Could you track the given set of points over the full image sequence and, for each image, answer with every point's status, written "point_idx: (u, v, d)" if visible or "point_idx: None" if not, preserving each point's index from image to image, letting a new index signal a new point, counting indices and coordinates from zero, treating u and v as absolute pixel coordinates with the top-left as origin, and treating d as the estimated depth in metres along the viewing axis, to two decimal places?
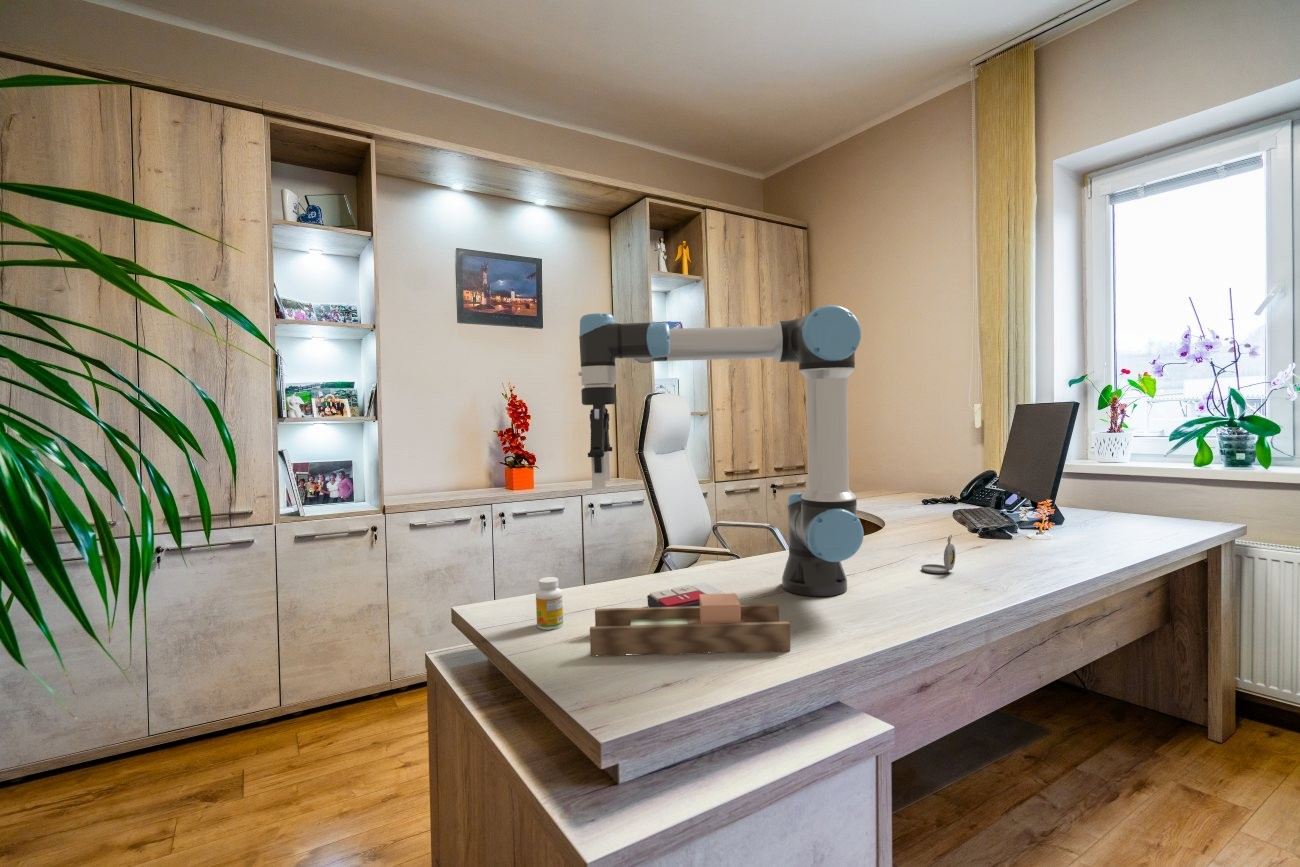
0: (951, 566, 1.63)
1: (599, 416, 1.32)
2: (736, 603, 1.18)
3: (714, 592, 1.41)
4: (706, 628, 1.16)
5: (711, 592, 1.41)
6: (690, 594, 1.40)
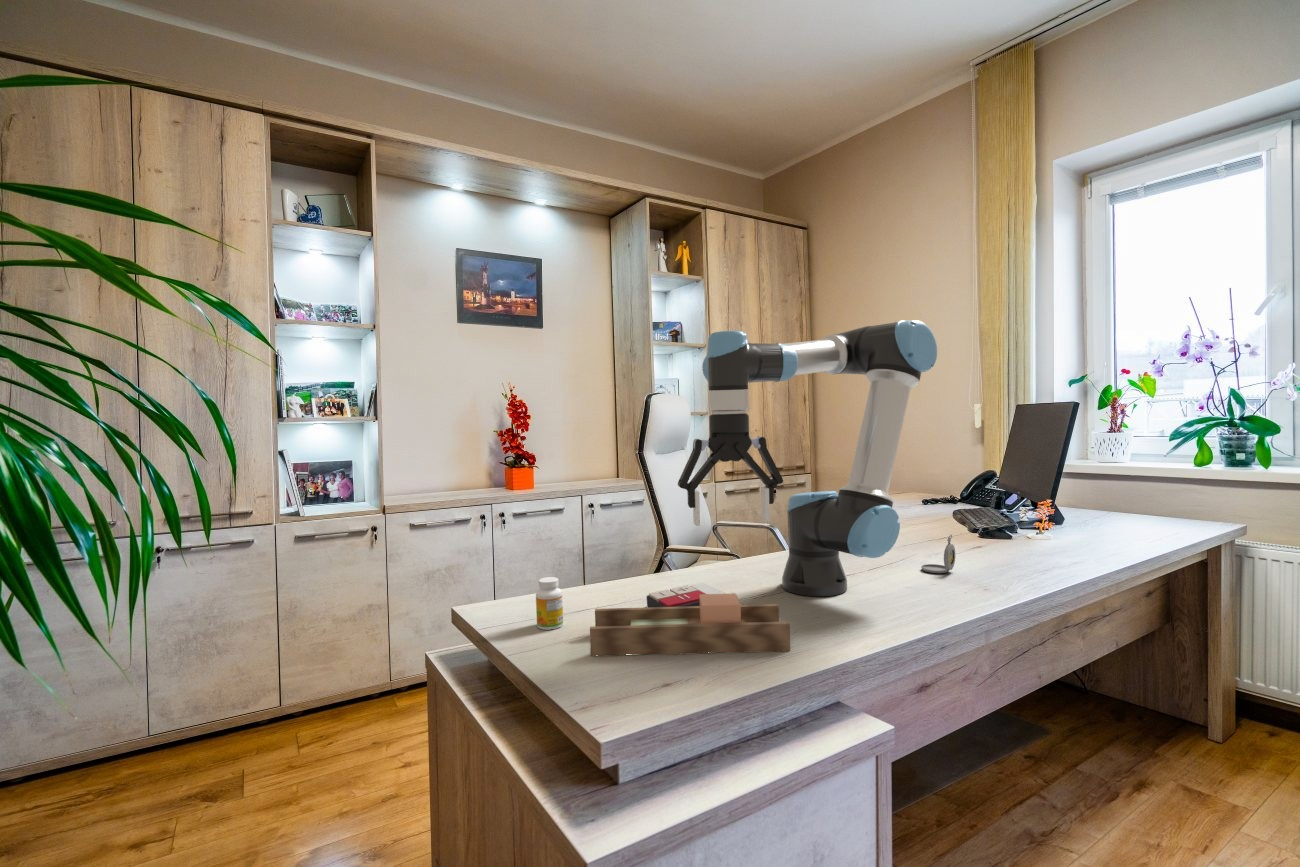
0: (951, 566, 1.63)
1: (694, 447, 1.22)
2: (736, 603, 1.18)
3: (714, 592, 1.41)
4: (706, 628, 1.16)
5: (711, 592, 1.41)
6: (690, 594, 1.40)
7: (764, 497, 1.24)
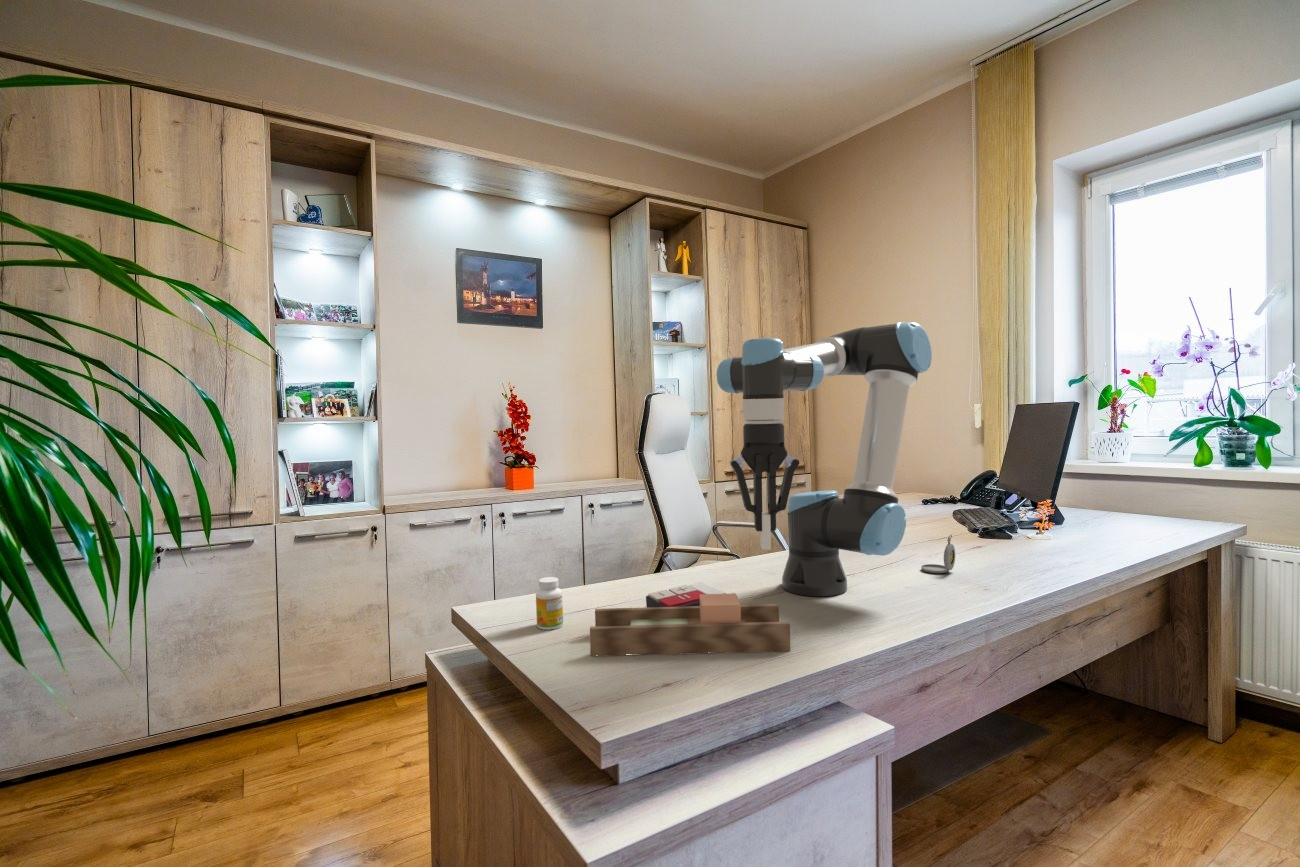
0: (951, 566, 1.63)
1: (734, 469, 1.19)
2: (736, 603, 1.18)
3: (713, 591, 1.41)
4: (706, 628, 1.16)
5: (710, 591, 1.41)
6: (690, 594, 1.40)
7: None
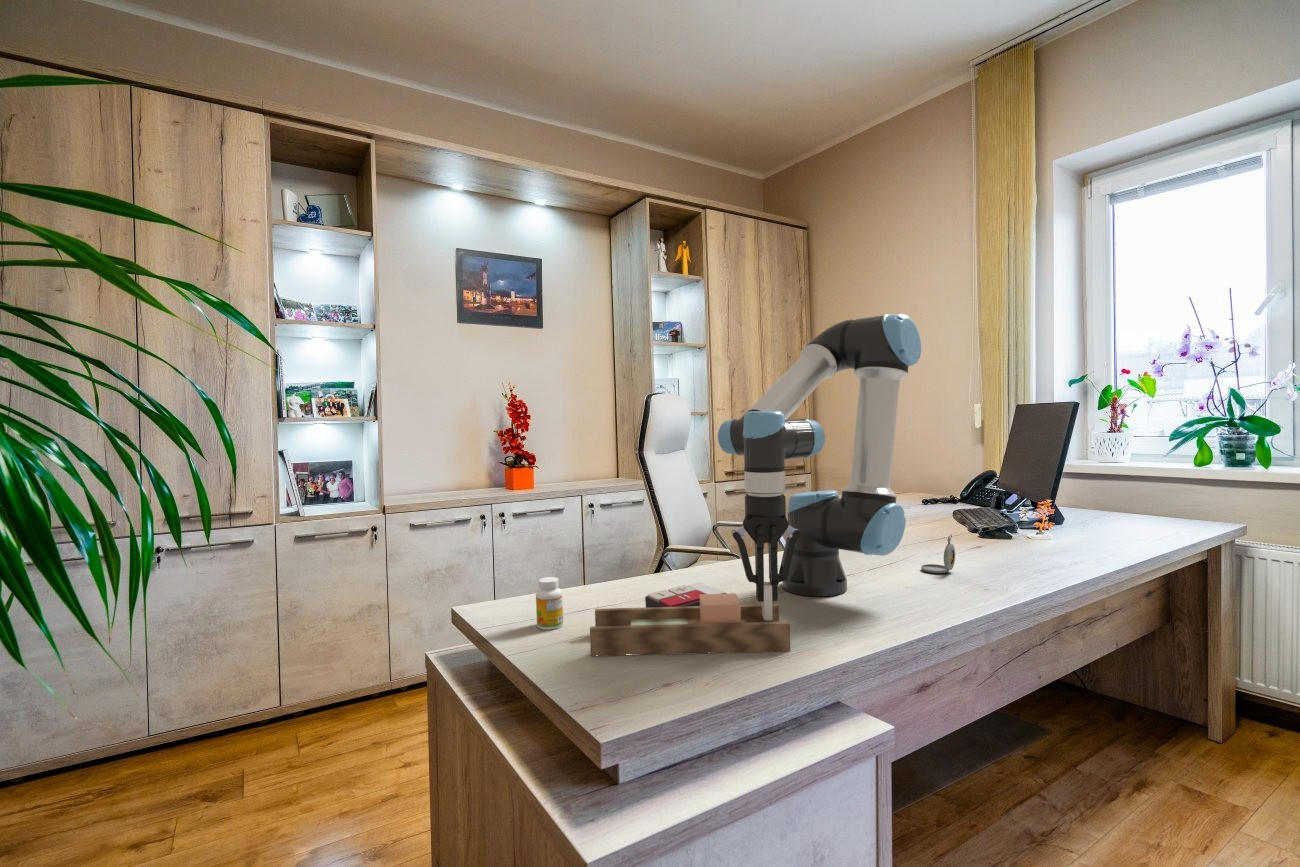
0: (951, 566, 1.63)
1: (736, 540, 1.20)
2: (736, 603, 1.18)
3: (712, 591, 1.42)
4: (706, 628, 1.16)
5: (709, 591, 1.42)
6: (690, 594, 1.40)
7: None
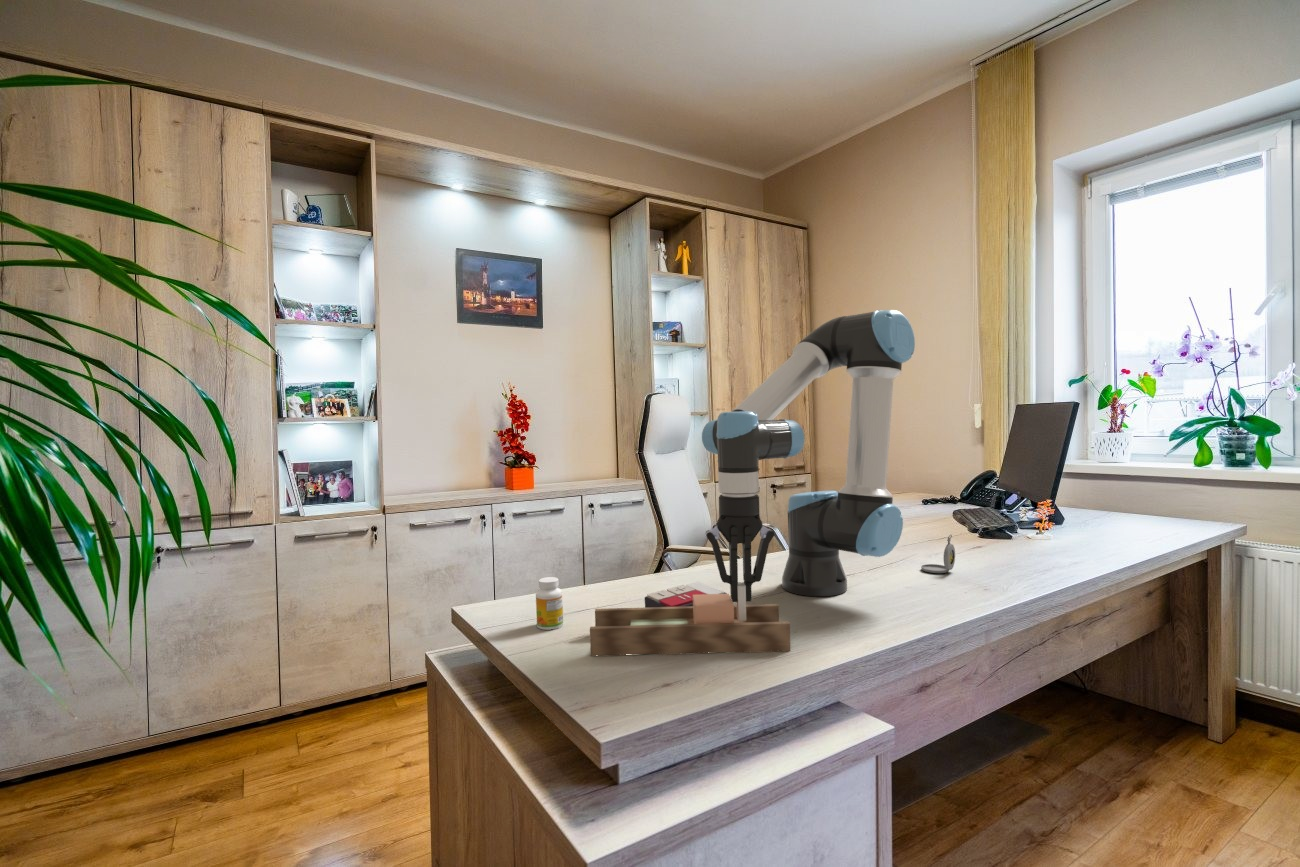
0: (951, 566, 1.63)
1: (710, 541, 1.20)
2: (730, 603, 1.18)
3: (712, 590, 1.42)
4: (706, 628, 1.16)
5: (709, 591, 1.42)
6: (689, 594, 1.40)
7: None
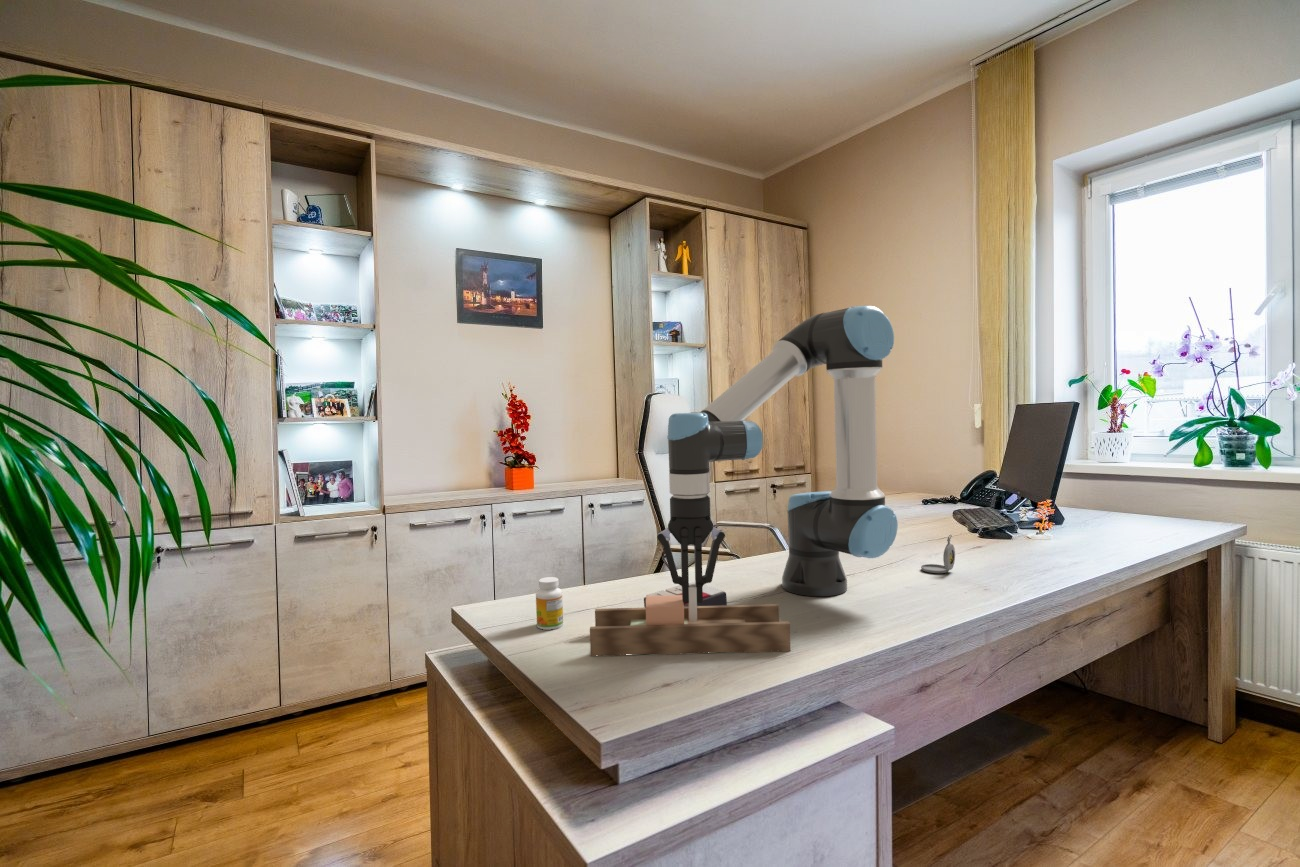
0: (951, 566, 1.63)
1: (661, 542, 1.20)
2: (680, 604, 1.18)
3: (711, 590, 1.42)
4: (706, 628, 1.16)
5: (708, 590, 1.42)
6: None
7: None
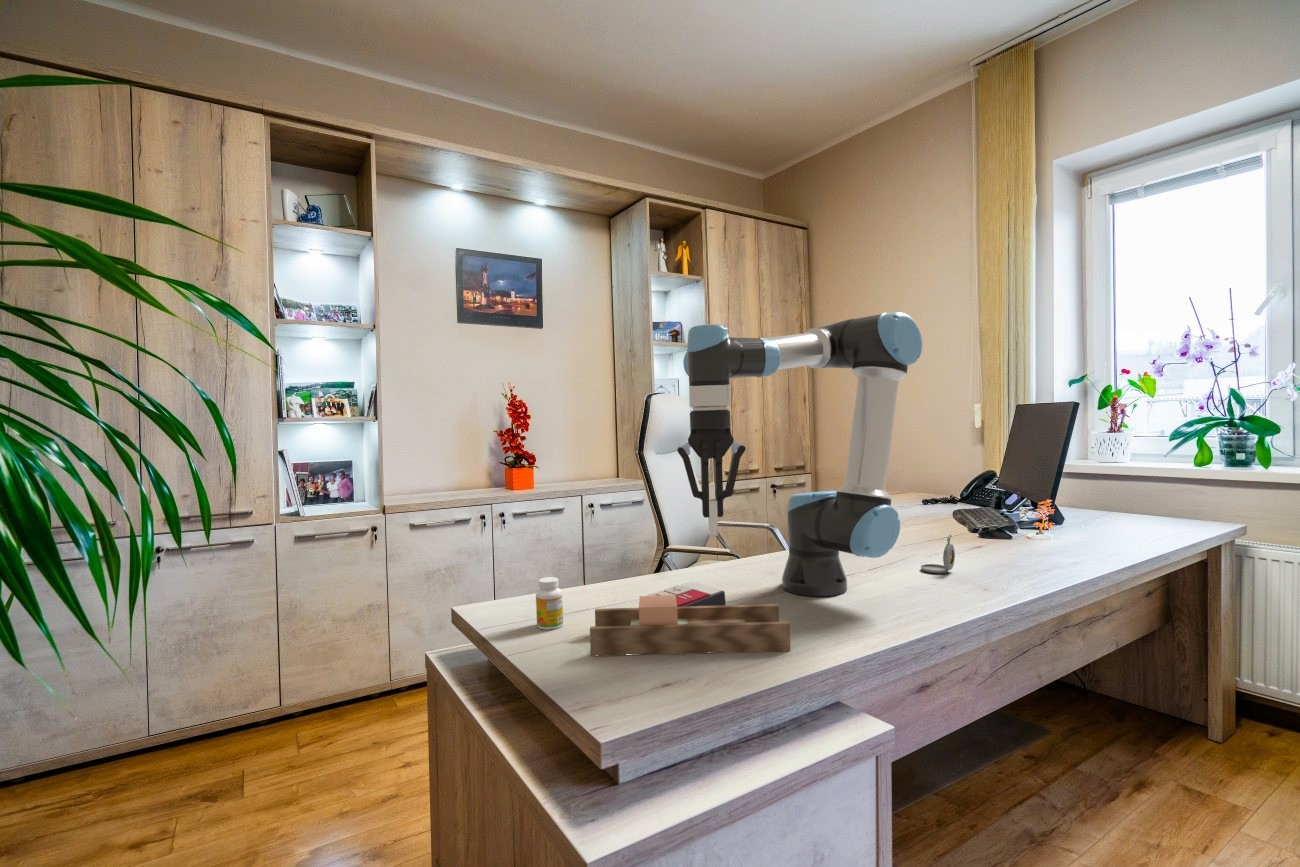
0: (950, 566, 1.63)
1: (681, 456, 1.20)
2: (673, 605, 1.18)
3: (709, 589, 1.43)
4: (706, 628, 1.16)
5: (706, 590, 1.43)
6: (689, 593, 1.40)
7: None
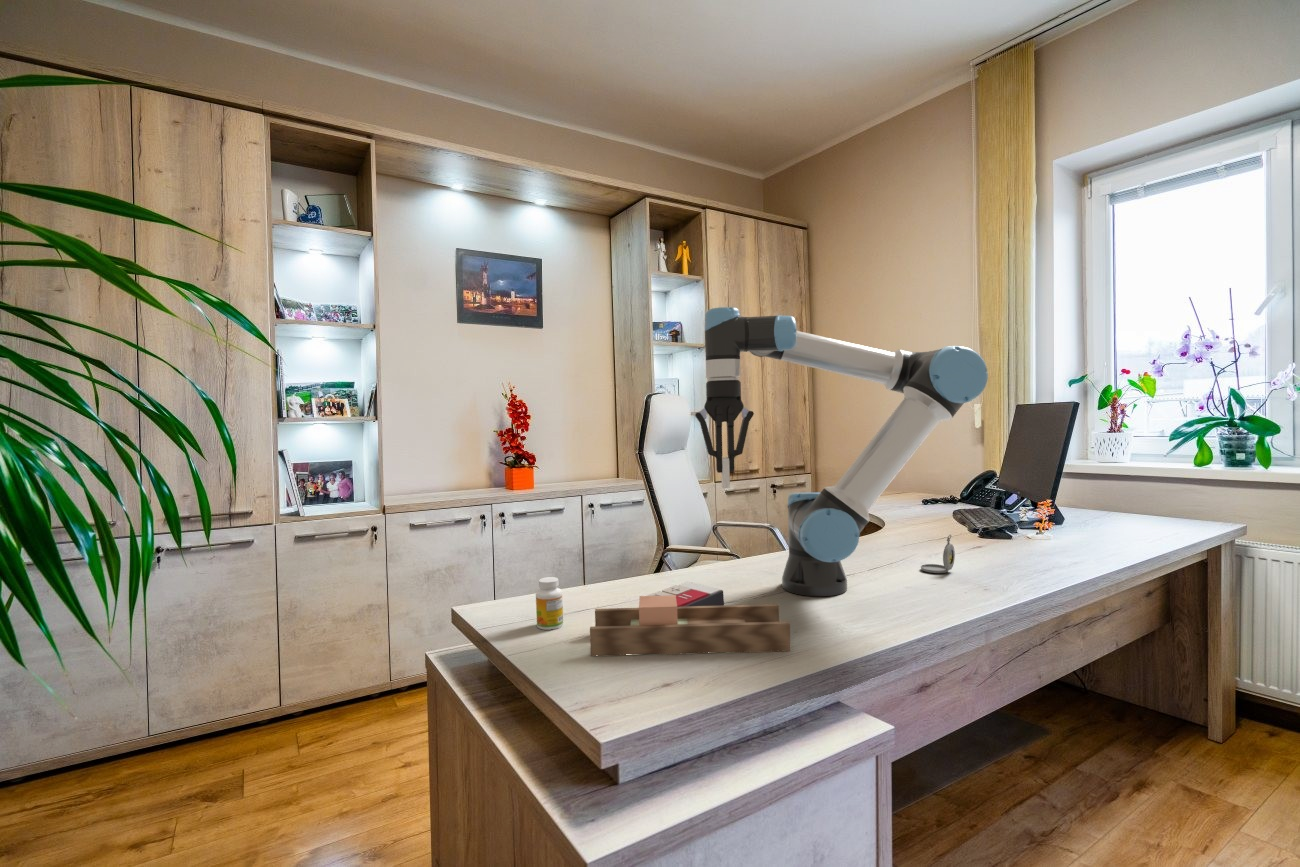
0: (950, 566, 1.63)
1: (698, 420, 1.40)
2: (673, 605, 1.18)
3: (708, 589, 1.43)
4: (706, 628, 1.16)
5: (705, 589, 1.43)
6: (688, 593, 1.41)
7: None
